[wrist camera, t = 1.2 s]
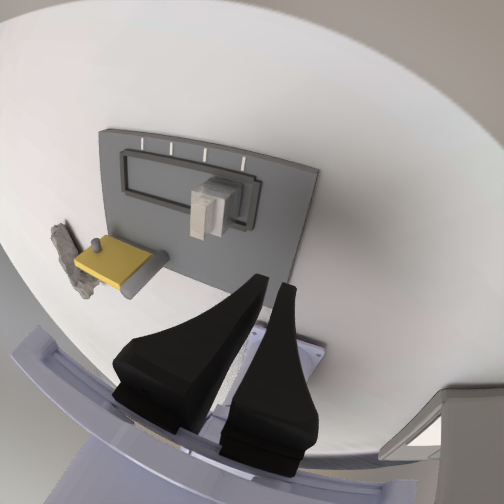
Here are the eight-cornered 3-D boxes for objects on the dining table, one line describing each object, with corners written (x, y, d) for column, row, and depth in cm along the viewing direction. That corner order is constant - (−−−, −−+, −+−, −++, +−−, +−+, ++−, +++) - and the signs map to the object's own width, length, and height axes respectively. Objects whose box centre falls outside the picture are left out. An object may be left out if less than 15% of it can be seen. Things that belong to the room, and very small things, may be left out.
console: (280, 302, 26) (255, 362, 20) (116, 238, 30) (73, 273, 24) (318, 169, 18) (299, 209, 12) (107, 129, 22) (47, 150, 16)
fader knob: (238, 218, 21) (213, 246, 17) (209, 209, 21) (180, 235, 18) (242, 184, 19) (216, 207, 16) (212, 176, 20) (181, 197, 16)
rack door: (152, 260, 26) (120, 291, 22) (106, 240, 27) (75, 265, 23) (151, 244, 25) (117, 274, 21) (104, 226, 26) (71, 250, 22)
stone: (92, 291, 38) (75, 306, 35) (52, 228, 35) (33, 241, 32) (106, 283, 35) (87, 300, 32) (61, 212, 31) (39, 226, 28)
